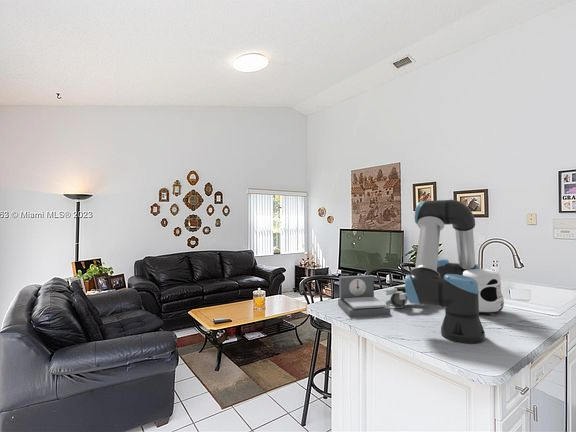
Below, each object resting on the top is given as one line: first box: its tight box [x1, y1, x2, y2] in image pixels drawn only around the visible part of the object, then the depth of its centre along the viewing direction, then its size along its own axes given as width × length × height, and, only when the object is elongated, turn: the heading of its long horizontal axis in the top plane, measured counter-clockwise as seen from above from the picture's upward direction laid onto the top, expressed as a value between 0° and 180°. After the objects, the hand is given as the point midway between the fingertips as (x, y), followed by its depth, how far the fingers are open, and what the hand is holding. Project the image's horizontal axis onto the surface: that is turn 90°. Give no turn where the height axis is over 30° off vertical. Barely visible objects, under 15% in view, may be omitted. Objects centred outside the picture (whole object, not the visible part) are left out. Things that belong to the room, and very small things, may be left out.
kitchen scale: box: [337, 274, 391, 318], centre depth 166 cm, size 22×20×15 cm
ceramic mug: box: [385, 291, 408, 309], centre depth 169 cm, size 11×8×8 cm
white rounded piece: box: [463, 268, 505, 314], centre depth 157 cm, size 17×17×18 cm
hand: (393, 294), depth 167 cm, fingers closed on ceramic mug, 10 cm apart
